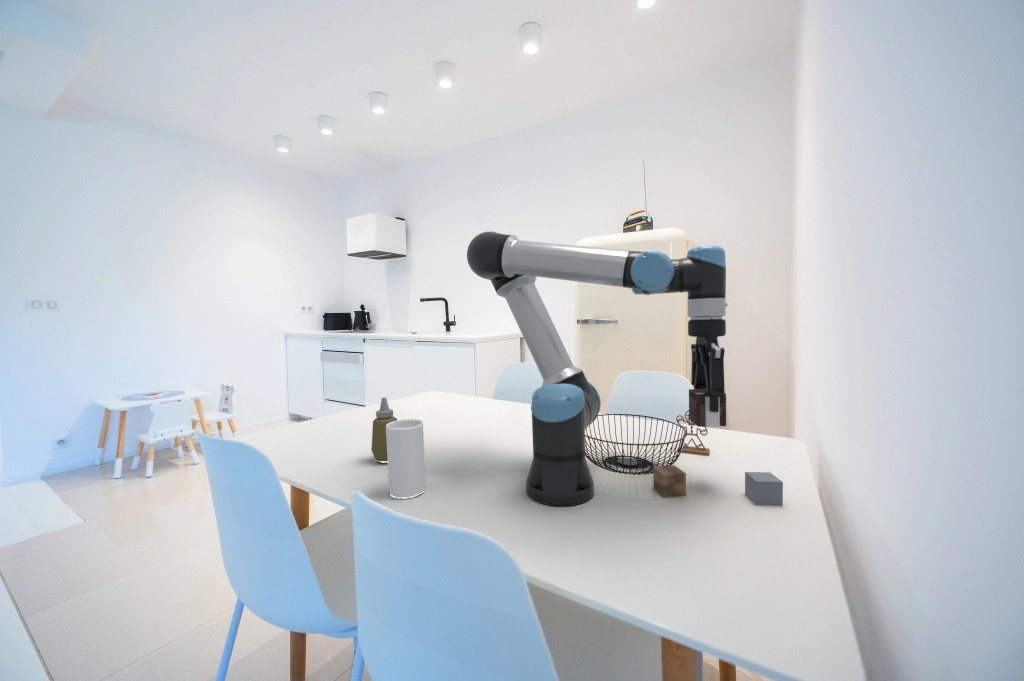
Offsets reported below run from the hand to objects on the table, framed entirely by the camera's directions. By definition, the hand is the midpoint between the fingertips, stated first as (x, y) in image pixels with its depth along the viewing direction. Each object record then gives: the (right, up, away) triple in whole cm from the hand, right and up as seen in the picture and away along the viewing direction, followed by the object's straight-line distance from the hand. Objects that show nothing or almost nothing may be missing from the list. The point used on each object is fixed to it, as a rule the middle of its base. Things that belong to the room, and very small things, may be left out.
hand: (706, 421), depth 90 cm
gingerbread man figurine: (+7, -14, +24) cm, 29 cm away
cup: (-68, -17, +3) cm, 70 cm away
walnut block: (-9, -15, -1) cm, 18 cm away
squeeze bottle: (-79, -16, +25) cm, 84 cm away
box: (0, -1, 0) cm, 1 cm away
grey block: (+9, -15, -6) cm, 18 cm away
